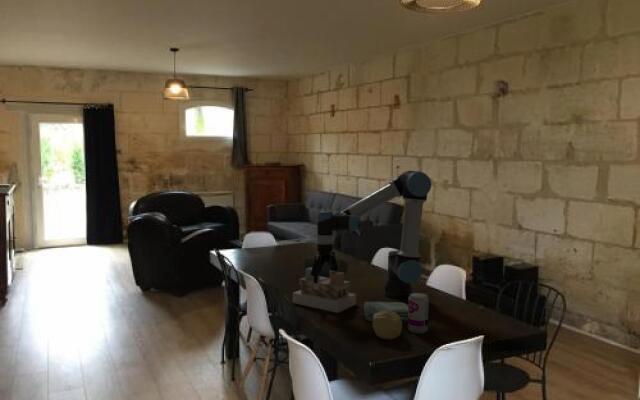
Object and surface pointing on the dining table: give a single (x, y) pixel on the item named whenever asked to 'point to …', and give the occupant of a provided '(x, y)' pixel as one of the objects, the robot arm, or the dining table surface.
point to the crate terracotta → (337, 277)
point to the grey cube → (309, 274)
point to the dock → (325, 301)
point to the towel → (395, 307)
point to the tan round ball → (387, 324)
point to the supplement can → (418, 313)
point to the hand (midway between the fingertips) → (324, 286)
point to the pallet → (324, 288)
